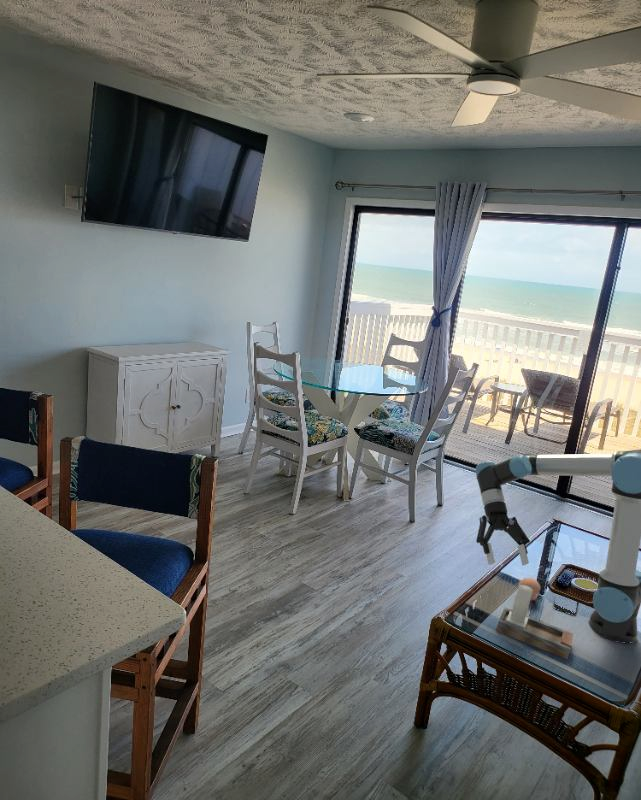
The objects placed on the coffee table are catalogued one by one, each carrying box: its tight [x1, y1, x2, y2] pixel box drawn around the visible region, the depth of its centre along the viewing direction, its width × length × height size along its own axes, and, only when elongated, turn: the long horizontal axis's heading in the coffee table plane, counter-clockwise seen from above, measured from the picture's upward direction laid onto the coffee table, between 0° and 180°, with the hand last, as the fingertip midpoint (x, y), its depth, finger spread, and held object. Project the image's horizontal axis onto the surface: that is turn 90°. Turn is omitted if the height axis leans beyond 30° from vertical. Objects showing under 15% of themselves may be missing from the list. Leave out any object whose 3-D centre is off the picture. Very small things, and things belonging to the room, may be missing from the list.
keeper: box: [506, 585, 533, 629], centre depth 198 cm, size 6×7×12 cm
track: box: [496, 607, 574, 660], centre depth 197 cm, size 22×11×4 cm, turn 63°
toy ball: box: [517, 577, 541, 601], centre depth 222 cm, size 8×8×8 cm
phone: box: [552, 601, 577, 616], centre depth 224 cm, size 8×1×15 cm
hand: (508, 563), depth 205 cm, fingers open, 13 cm apart
